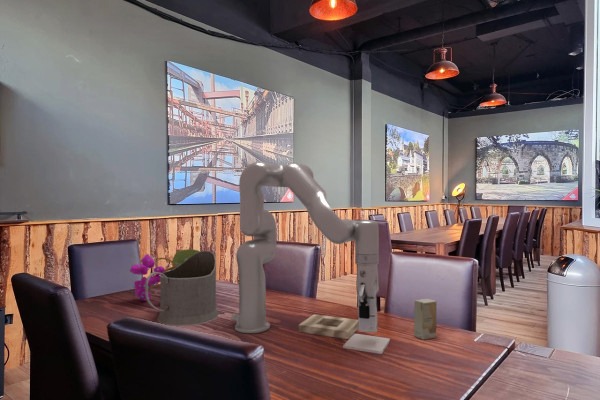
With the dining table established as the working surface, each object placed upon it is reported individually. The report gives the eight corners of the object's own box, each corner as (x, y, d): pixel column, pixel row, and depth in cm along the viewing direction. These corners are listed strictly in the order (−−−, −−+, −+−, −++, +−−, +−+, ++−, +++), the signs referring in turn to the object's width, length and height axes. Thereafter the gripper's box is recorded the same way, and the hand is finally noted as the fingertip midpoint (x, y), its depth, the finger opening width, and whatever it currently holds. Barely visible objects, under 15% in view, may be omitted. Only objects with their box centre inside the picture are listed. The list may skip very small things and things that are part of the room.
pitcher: (230, 313, 161) (230, 252, 161) (168, 336, 134) (168, 263, 134) (189, 306, 173) (189, 248, 173) (125, 326, 145) (125, 258, 145)
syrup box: (377, 332, 122) (376, 285, 122) (357, 331, 124) (357, 285, 124) (377, 327, 128) (376, 282, 128) (359, 326, 129) (358, 281, 129)
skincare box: (423, 340, 129) (422, 303, 129) (413, 336, 133) (413, 300, 133) (437, 337, 132) (437, 300, 132) (427, 333, 136) (427, 297, 136)
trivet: (343, 347, 123) (343, 345, 123) (354, 335, 134) (354, 333, 134) (381, 354, 118) (381, 351, 118) (390, 341, 129) (390, 338, 129)
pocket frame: (298, 331, 138) (298, 324, 138) (314, 320, 151) (314, 314, 151) (348, 339, 131) (348, 331, 131) (359, 326, 143) (359, 320, 143)
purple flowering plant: (210, 232, 195) (158, 251, 164) (227, 287, 195) (178, 316, 164) (167, 245, 208) (111, 264, 177) (183, 296, 209) (130, 325, 177)
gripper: (371, 263, 116) (372, 324, 116) (384, 256, 132) (385, 309, 132) (347, 262, 120) (347, 321, 119) (362, 254, 135) (363, 307, 135)
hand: (367, 314), depth 126 cm, fingers closed on syrup box, 6 cm apart
